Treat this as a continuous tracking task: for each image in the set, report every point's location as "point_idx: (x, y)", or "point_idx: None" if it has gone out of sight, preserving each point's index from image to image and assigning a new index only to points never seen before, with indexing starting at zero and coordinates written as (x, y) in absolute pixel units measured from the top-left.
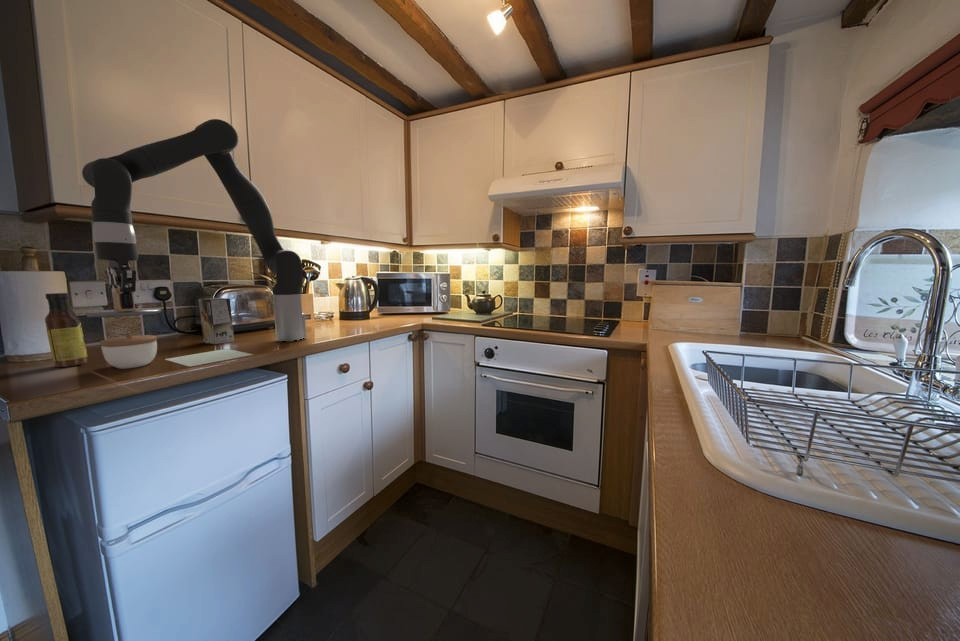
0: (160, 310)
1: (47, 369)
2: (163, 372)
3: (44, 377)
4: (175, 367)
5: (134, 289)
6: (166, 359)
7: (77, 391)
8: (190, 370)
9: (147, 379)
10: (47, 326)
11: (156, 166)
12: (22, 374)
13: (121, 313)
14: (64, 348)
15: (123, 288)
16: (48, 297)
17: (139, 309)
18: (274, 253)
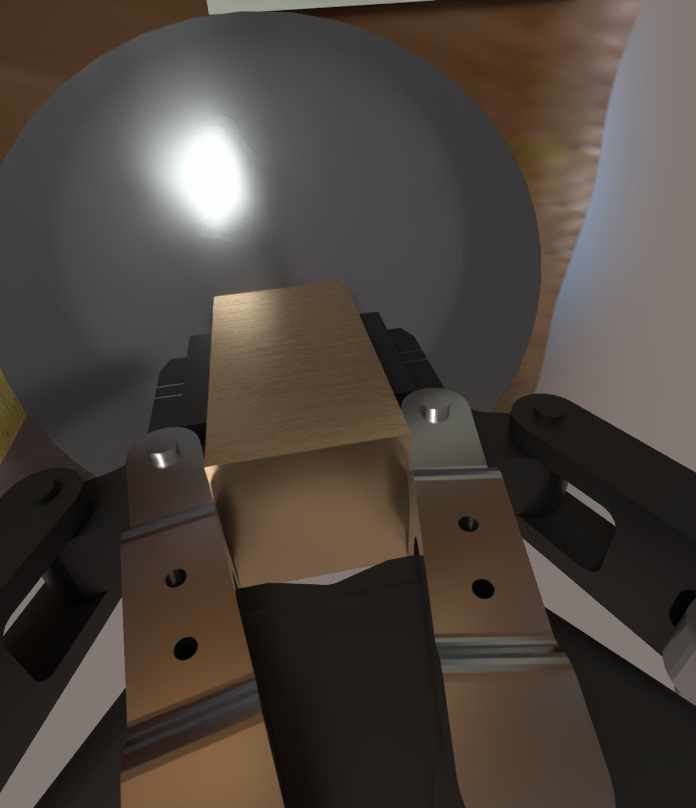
0: (406, 50)
1: (28, 428)
2: (532, 123)
3: None
4: (478, 41)
5: (582, 418)
6: (233, 9)
7: (528, 366)
8: (624, 12)
9: (589, 202)
10: None
11: None
12: (82, 473)
13: (510, 381)
14: (8, 441)
15: (575, 510)
16: None
17: (213, 229)
18: None
